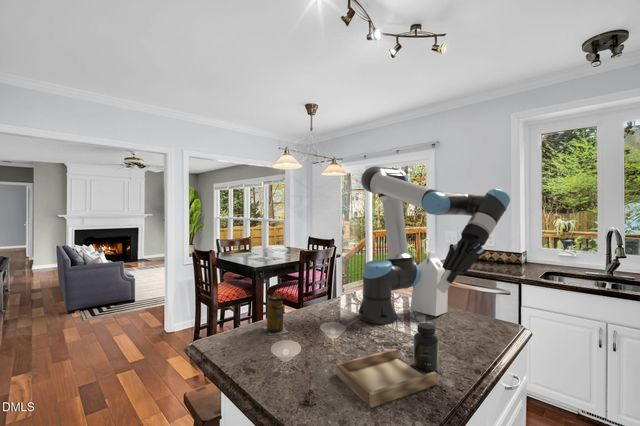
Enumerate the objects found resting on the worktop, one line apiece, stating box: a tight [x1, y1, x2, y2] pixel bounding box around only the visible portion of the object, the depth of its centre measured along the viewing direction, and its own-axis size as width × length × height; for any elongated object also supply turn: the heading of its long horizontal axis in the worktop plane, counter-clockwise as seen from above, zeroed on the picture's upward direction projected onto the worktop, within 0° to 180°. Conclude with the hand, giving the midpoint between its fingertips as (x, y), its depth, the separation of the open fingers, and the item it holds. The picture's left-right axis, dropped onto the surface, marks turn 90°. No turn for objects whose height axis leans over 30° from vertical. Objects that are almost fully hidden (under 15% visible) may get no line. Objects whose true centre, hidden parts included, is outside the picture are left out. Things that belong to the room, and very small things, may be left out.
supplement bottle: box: [412, 322, 440, 374], centre depth 91 cm, size 7×7×12 cm
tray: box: [335, 348, 438, 408], centre depth 84 cm, size 21×16×3 cm
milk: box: [410, 251, 449, 317], centre depth 140 cm, size 12×12×26 cm
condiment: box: [262, 295, 289, 336], centre depth 116 cm, size 7×8×12 cm
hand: (440, 289), depth 95 cm, fingers closed
